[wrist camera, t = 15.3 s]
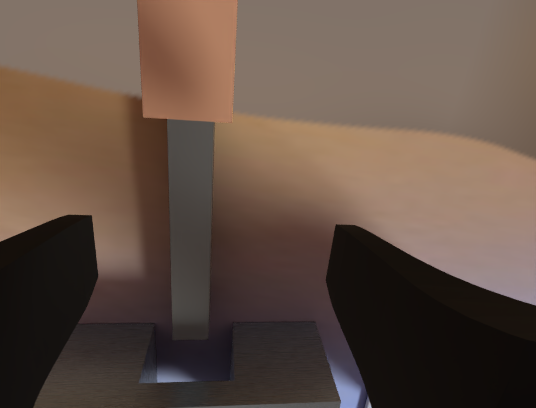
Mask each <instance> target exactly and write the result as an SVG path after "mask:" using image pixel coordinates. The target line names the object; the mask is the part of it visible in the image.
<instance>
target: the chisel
mask: <svg viewBox="0 0 536 408" xmlns="http://www.w3.org/2000/svg"><path fill="white" fill-rule="evenodd" d="M237 2H238V0H137V5H138V26H139V45H140V65H141V84H142V105H143V118H159V119H167V134H168V174H169V214H170V254H171V294H172V333H173V340H208V334H209V317H210V286H211V247H212V209H213V170H214V131H215V122H223V123H232V116H233V94H234V93H233V91H234V71H235V70H234V69H235V49H236V26H237V4H238V3H237Z"/></svg>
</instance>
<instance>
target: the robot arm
mask: <svg viewBox="0 0 536 408" xmlns="http://www.w3.org/2000/svg"><path fill="white" fill-rule="evenodd" d="M97 278H98V269H97V260H96V250H95V241H94V232H93V222H92V215H66V216H62V217H59V218H57V219H54V220H51V221H49V222H46V223H44V224H41V225H39V226H37V227H34V228H32V229H30V230H27V231H25V232H22V233H20V234H18V235H15V236H13V237H11V238H8V239H6V240H3V241H1V242H0V408H33V407H34V404H35V402H36V400H37V397H38V395H39V393H40V391H41V389H42V387H43V385H44V383H45V381H46V379H47V377H48V375H49V373H50V371H51V370H52V368H53V366H54V364H55V362H56V361H57V359H58V357H59V355H60V354H61V352H62V350H63V348H64V347H65V345H66V343H67V341H68V339H69V338H70V336H71V334H72V332H73V331H74V329H75V327H76V325H77V323H78V322H79V320H80V318H81V316H82V314H83V313H84V311H85V309H86V307H87V305H88V302H89V300H90V297H91V295H92V292H93V290H94V287H95V284H96V281H97ZM326 283H327V287H328V291H329V295H330V299H331V303H332V306H333V309H334V312H335V314H336V316H337V319H338V321H339V324H340V326H341V329H342V331H343V333H344V336H345V338H346V340H347V343H348V345H349V347H350V350H351V352H352V354H353V357H354V359H355V361H356V364H357V366H358V368H359V371H360V374H361V376H362V379H363V382H364V384H365V388H366V391H367V394H368V397H367V400H366V404H365V408H536V306H535V305H532V304H529V303H525V302H522V301H519V300H515V299H513V298H510V297H507V296H504V295H501V294H498V293H495V292H492V291H489V290H486V289H484V288H481V287H478V286H476V285H473V284H471V283H468V282H466V281H464V280H461V279H459V278H456V277H454V276H452V275H449V274H447V273H445V272H443V271H441V270H439V269H436V268H434V267H432V266H430V265H429V264H427V263H425V262H423V261H421V260H419V259H417V258H415V257H413V256H411V255H409V254H407V253H406V252H404V251H402V250H400V249H399V248H397V247H395V246H393V245H392V244H390V243H388V242H386V241H385V240H383V239H381V238H379V237H378V236H376V235H374V234H372V233H370V232H369V231H367V230H365V229H363V228H361V227H358V226H356V225H337V224H336V226H335V231H334V237H333V243H332V248H331V254H330V259H329V265H328V270H327V276H326Z"/></svg>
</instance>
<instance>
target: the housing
mask: <svg viewBox="0 0 536 408" xmlns="http://www.w3.org/2000/svg"><path fill="white" fill-rule="evenodd" d="M340 403H341V400H340V397H339V394H338V391H337V388H336V385H335V382H334V379H333V376H332V373H331V370H330V366H329V363H328V360H327V357H326V354H325V351H324V348H323V345H322V342H321V339H320V336H319V333H318V329H317V326H316V323H315V322H249V323H233V332H232V350H231V367H230V381H201V382H167V383H157V371H156V351H155V332H154V323H137V324H77V325H76V327H75V329H74V331H73V332H72V334H71V336H70V338H69V339H68V341H67V343H66V345H65V347H64V348H63V350H62V352H61V354H60V355H59V357H58V359H57V361H56V362H55V364H54V366H53V368H52V370H51V371H50V373H49V375H48V377H47V379H46V381H45V383H44V385H43V387H42V389H41V391H40V393H39V395H38V397H37V400H36V402H35V404H34V407H33V408H339V407H340Z"/></svg>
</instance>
